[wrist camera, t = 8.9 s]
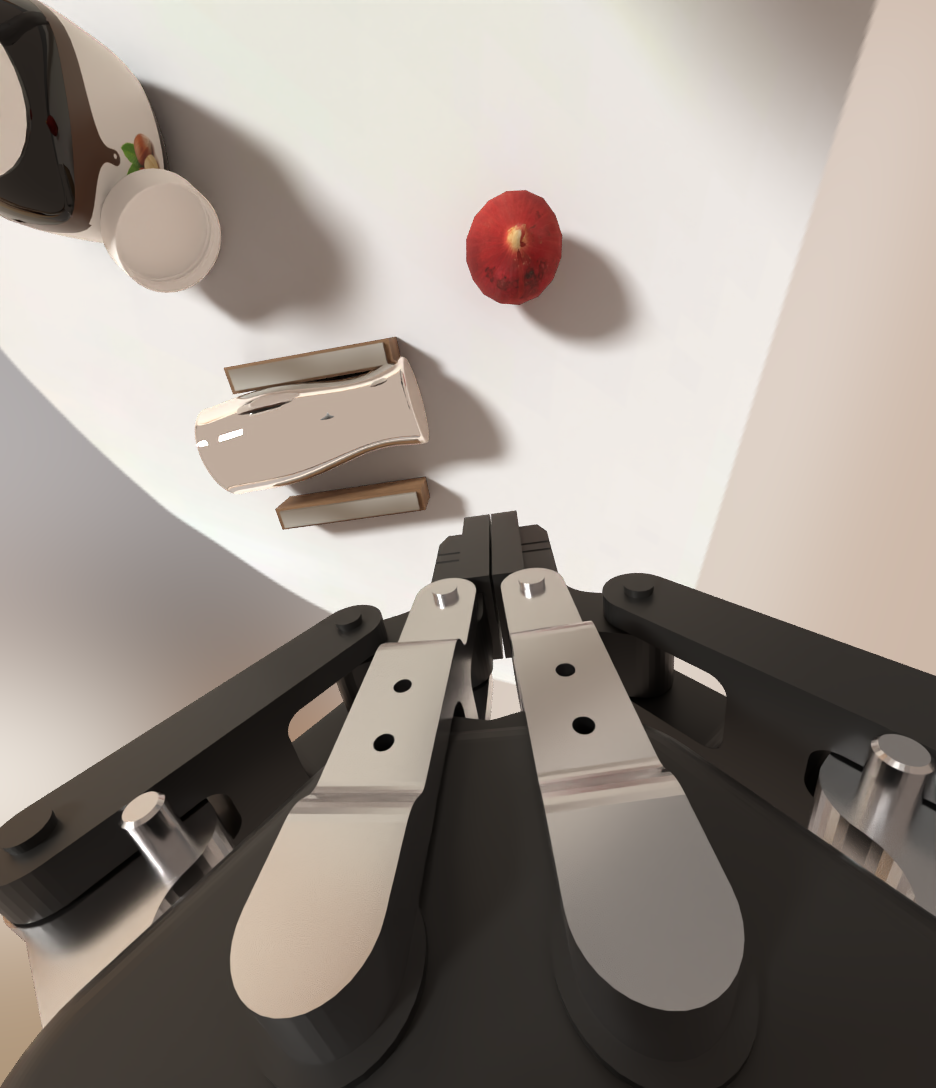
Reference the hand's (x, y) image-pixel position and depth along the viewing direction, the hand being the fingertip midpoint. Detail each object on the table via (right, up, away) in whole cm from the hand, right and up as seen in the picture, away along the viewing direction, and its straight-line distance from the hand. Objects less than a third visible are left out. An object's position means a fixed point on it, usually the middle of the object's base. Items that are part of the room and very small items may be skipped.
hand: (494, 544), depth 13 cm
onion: (+2, +20, +18) cm, 27 cm away
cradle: (-11, +9, +24) cm, 28 cm away
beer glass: (-4, +10, +20) cm, 22 cm away
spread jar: (-22, +24, +17) cm, 37 cm away
